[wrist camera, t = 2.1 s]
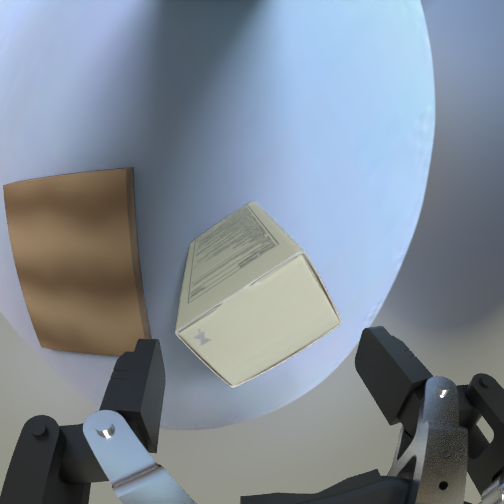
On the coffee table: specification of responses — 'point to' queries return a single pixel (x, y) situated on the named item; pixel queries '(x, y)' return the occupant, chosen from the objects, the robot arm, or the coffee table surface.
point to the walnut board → (79, 260)
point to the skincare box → (250, 297)
